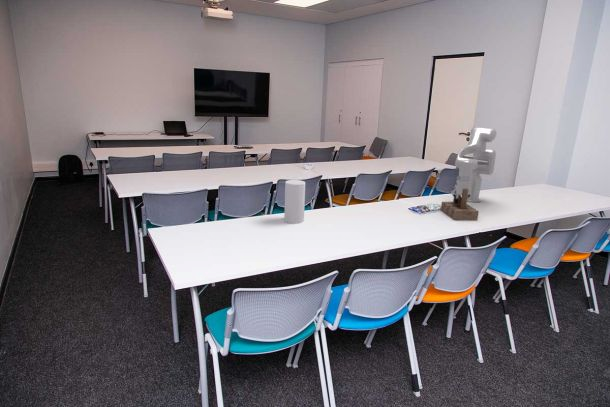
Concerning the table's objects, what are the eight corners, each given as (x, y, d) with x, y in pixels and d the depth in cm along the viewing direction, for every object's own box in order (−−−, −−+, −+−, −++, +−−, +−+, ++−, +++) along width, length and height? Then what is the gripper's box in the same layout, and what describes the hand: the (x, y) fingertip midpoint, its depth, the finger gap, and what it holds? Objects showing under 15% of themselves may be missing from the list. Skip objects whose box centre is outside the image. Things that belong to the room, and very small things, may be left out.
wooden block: (455, 210, 284) (459, 185, 279) (466, 215, 274) (470, 189, 269) (451, 210, 283) (455, 186, 278) (461, 215, 273) (465, 190, 268)
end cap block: (440, 210, 288) (441, 201, 287) (461, 210, 290) (463, 201, 288) (454, 220, 267) (456, 210, 266) (477, 220, 269) (478, 211, 267)
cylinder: (300, 216, 262) (301, 179, 255) (306, 222, 251) (308, 184, 244) (281, 217, 258) (282, 180, 251) (287, 224, 247) (288, 184, 240)
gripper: (454, 179, 267) (450, 205, 272) (478, 179, 269) (474, 205, 274) (449, 176, 274) (445, 202, 279) (473, 177, 276) (469, 202, 281)
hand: (460, 203), depth 276 cm, fingers open, 5 cm apart
